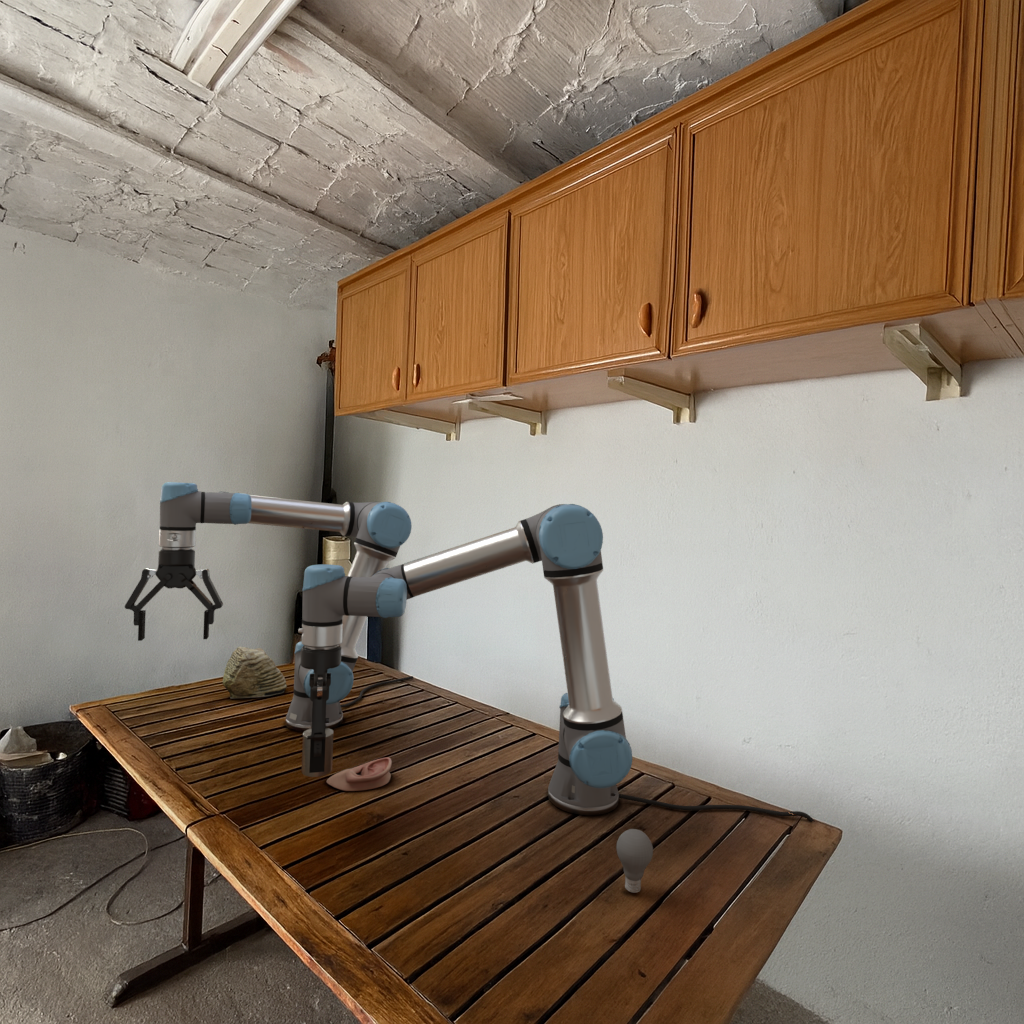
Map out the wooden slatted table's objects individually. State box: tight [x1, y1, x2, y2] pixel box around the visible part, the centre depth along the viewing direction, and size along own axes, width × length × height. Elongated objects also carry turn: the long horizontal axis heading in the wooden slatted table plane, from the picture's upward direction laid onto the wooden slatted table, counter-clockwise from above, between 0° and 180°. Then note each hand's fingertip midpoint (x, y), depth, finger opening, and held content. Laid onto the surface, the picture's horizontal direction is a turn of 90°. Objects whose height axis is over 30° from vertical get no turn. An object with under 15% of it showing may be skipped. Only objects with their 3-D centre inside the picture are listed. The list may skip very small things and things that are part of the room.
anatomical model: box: [326, 756, 393, 792], centre depth 142 cm, size 13×4×12 cm
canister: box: [301, 728, 334, 778], centre depth 122 cm, size 6×6×7 cm
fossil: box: [222, 646, 288, 699], centre depth 198 cm, size 9×18×15 cm, turn 132°
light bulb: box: [615, 828, 654, 894], centre depth 106 cm, size 6×6×10 cm
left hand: (174, 638), depth 148 cm, fingers open, 13 cm apart
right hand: (317, 764), depth 122 cm, fingers closed on canister, 6 cm apart
